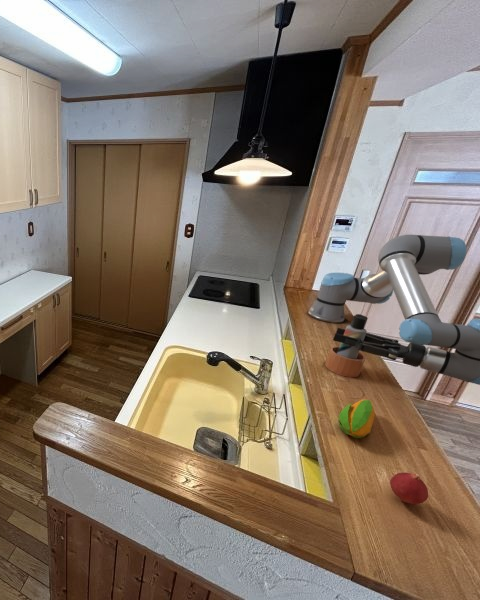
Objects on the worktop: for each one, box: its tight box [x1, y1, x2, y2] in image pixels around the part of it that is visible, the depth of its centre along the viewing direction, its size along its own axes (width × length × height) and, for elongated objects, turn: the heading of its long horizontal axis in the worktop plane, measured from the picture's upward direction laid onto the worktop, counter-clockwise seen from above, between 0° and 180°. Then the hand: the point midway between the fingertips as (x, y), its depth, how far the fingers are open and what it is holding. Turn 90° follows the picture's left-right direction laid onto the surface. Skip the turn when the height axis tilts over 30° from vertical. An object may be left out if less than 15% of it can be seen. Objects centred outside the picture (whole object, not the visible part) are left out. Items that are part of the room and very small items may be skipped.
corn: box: [338, 398, 376, 439], centre depth 93 cm, size 7×8×20 cm
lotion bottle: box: [337, 313, 369, 360], centre depth 117 cm, size 6×6×20 cm
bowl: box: [324, 345, 366, 378], centre depth 120 cm, size 10×10×7 cm
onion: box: [389, 472, 429, 505], centre depth 70 cm, size 6×6×8 cm
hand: (335, 333), depth 120 cm, fingers closed on lotion bottle, 6 cm apart
